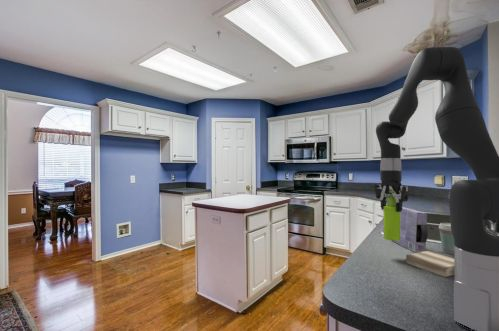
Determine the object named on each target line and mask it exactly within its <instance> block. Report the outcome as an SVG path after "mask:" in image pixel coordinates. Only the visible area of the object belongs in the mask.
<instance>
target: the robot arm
mask: <svg viewBox="0 0 499 331" xmlns="http://www.w3.org/2000/svg"><path fill="white" fill-rule="evenodd" d="M464 58H465V57H464V55H463V53H462V51H461V50H460V49H459V48H458V47H455V46H434V47H426V48H423V49H421V50H420V51H419V52H418V53H417V54H416V56H415V57H414V59H413V62H412V63H411V66H410V68H409V71H408V74H407V76H406V79H405V80H404V84H403V86H402V90H401V92H400V94H399V97H398V99H397V101H396V103H395V104H394V106H393V107H392V109H391V111H390V113H389V114H388V120H389V121H380V122H379V123H378V124H377V125H376V126H375V127H376V128H375V134H376V137H377V141H378V143H379V148H380V165H379V166H380V170H379V172H380V174H379V175H380V178H379V179H380V181H381V182H380V184H374V192H375V198H376V199H378V200H380V209H381V210H383V211H384V206H387V198H388V197H389V194H392V195H393V197H394V198H395V200H396V202H397V203H396V212H401V211H402V207H403V203H404V202H408V200H409V195H410V194H409V192H410V186H408V185H402V181H403V180H402V178H403V177H402V174H403V173H402V158H401V153H402V152H401V151H402V150H401V145H400V144H396V143H392V142H391V141H390V139H400V138H402V137H403V136H405V133H406V130H407V127H408V126H407V125H408V124H409V121H410V119H411V118H412V116H413V115H414V114H415V112H416V111H417V109H418V107H419V98H418V92H417V90H418V86H420V84H421V83H422V82H423V81H440V82H442V85H443V86H444V91H445V93H444V96H443V98H442V99H441V102H440V103H439V105H438V107H437V109H436V112H435V116H434V121H435V124H436V127H437V130H438V134H439V138H440V140H442V142H443V143H444V144H445V146H447V147H448V148H449V149H450V150H451V151H452V152H453V153H455V154H456V155H457V156H458V157H460V159H462V161H464V162H465V163H466V164H467V165H468V166H469V167H470V169H471V171H472V172H473V175H474V177H475V179H461V180H457V181H455V182H454V183H453V184H452V185H451V187H450V190H449V194H448V204H449V206H448V207H449V216H450V217H449V219H450V223H451V231H452V235H453V238H454V255H453V256H454V257H453V258H454V275H453V277H454V281H453V321H454V320H455V321H457V322H459V323H461V324H463V325H465V326H467V327H469V328H471V329H475V330H477V331H499V236H497V235H493V234H491V233H489V232H488V231H486V228H485V225H484V221H495V222H496V221H497V222H499V154H498V152H497V149H496V147H495V145H494V143H493V140H492V138H491V135H490V133H489V131H488V128H487V125H486V122H485V119H484V117H483V114H482V111H481V108H480V107H479V104H478V102H477V100H476V98H475V95H474V91H473V89H472V86H471V82H470V80H469V74H468V70H467V67H466V62H465V59H464ZM389 190H390V191H395V193H390V192H389Z"/></svg>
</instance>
